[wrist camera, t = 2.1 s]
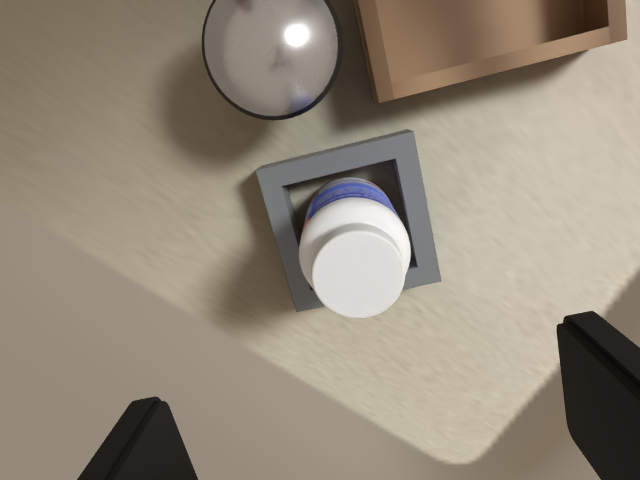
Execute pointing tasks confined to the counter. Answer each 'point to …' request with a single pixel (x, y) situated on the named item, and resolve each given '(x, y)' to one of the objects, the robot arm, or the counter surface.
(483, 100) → the counter surface
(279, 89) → the metal mushroom knob
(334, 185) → the pill bottle
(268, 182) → the socket collar
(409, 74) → the tray
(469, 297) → the counter surface
